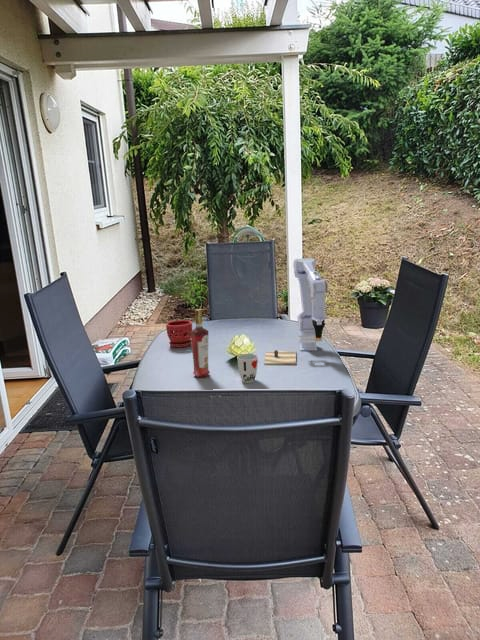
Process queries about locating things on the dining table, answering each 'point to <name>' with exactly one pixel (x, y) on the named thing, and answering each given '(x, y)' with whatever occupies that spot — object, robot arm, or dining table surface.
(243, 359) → the cup
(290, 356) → the board
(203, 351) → the liquor
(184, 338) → the plant pot
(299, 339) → the square frame with cube
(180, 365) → the dining table surface
